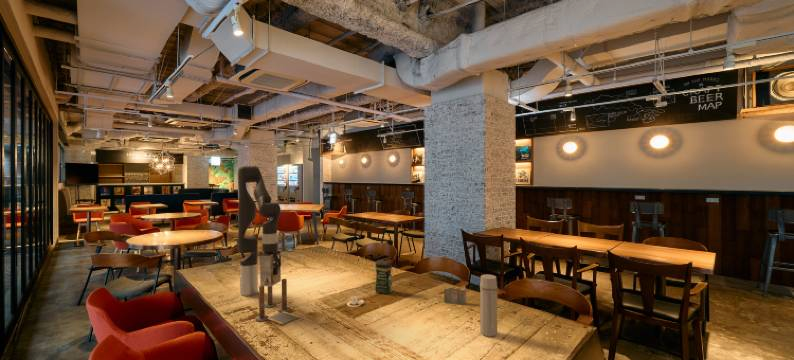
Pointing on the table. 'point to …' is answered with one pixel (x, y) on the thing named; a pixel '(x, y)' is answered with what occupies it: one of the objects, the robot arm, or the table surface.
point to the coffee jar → (383, 277)
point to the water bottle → (488, 305)
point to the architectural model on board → (455, 295)
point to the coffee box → (268, 270)
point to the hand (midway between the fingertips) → (270, 273)
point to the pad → (283, 318)
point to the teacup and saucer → (355, 301)
